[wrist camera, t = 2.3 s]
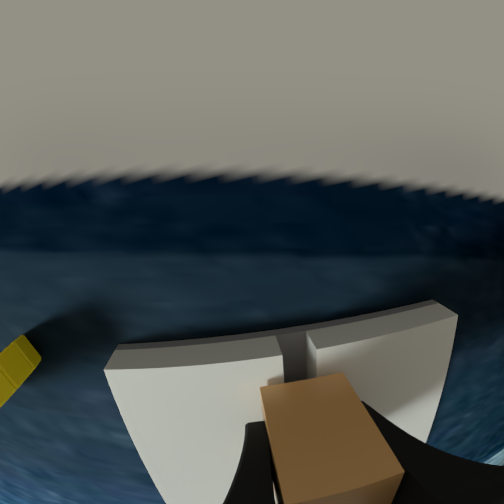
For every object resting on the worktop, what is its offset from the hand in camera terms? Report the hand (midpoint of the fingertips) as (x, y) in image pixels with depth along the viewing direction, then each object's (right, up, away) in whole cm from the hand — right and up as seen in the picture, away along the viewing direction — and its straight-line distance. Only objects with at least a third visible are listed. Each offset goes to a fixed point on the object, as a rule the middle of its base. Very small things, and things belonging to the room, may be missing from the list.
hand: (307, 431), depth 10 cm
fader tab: (0, +1, +3) cm, 3 cm away
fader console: (0, -5, +4) cm, 6 cm away
